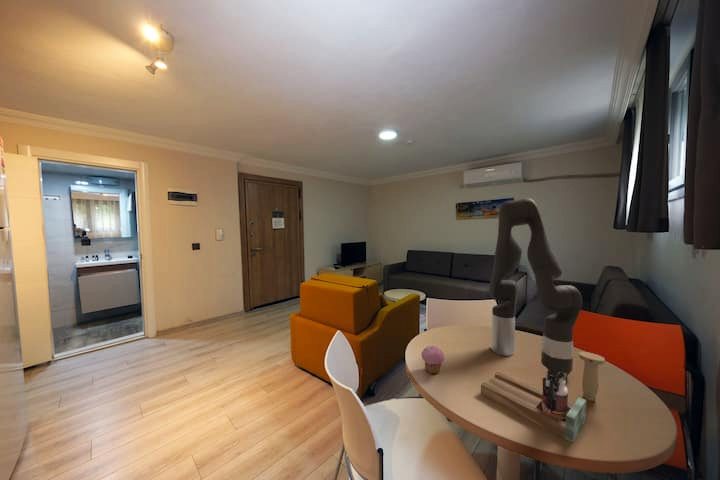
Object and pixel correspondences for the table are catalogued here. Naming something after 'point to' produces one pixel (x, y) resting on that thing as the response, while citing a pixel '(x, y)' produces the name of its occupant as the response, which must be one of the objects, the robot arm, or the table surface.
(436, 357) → the cupcake
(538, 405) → the channel board
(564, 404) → the pill bottle
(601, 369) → the table surface
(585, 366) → the handle
